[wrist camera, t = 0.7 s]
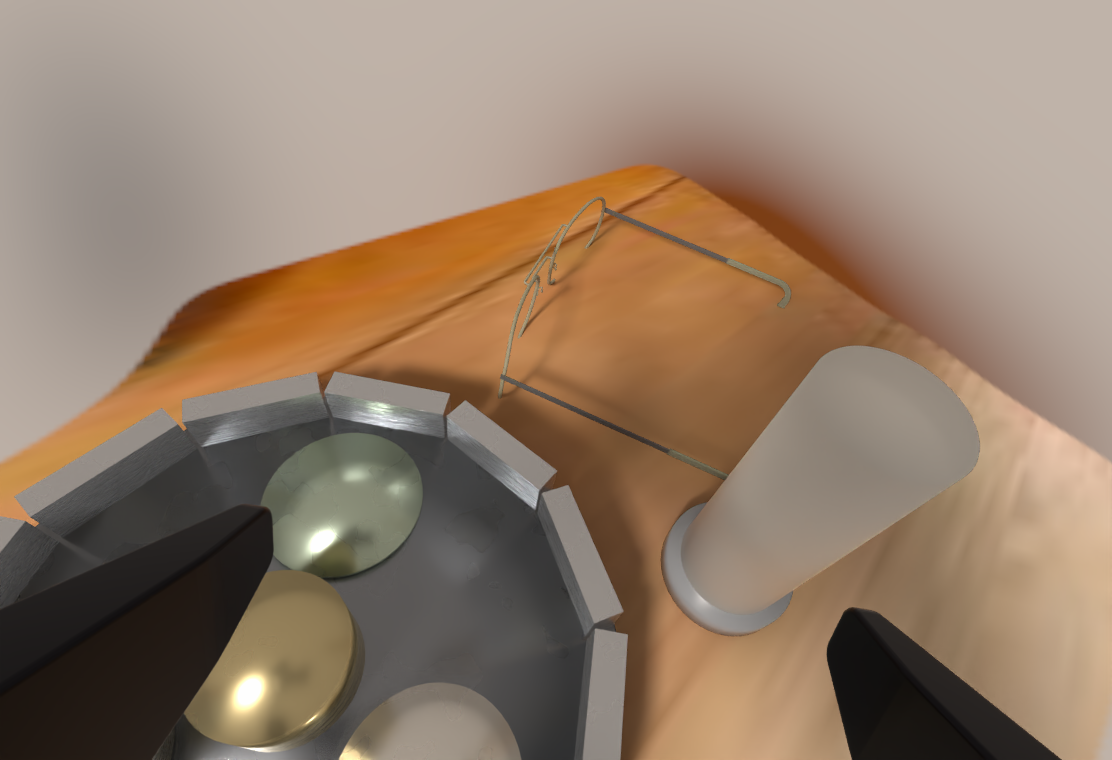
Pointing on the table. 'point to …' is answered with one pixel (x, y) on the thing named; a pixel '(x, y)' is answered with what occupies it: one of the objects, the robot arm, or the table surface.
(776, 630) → the table surface
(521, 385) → the eyeglasses
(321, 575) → the carrier plate
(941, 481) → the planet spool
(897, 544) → the table surface
